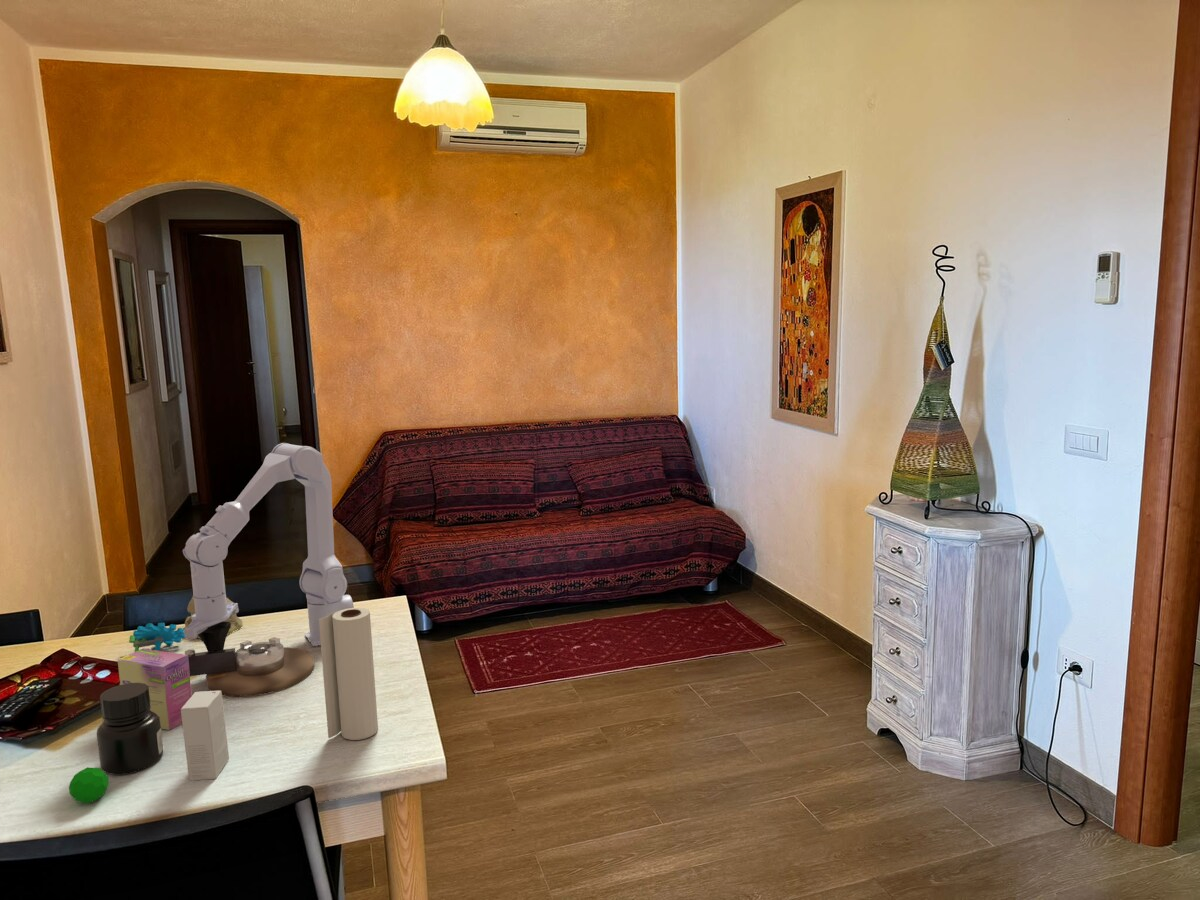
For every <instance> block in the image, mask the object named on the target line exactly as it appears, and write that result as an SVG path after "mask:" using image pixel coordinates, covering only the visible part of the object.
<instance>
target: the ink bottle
mask: <svg viewBox="0 0 1200 900" xmlns="http://www.w3.org/2000/svg"><path fill="white" fill-rule="evenodd" d="M99 701H100V708H101V709H100V711H101V716H102V717H101V718H102V720H103V721H102V723H101V724H99V726H98V728H97V729H96V739H97V741H96V743H97V748H98V756H99V764H100V769H101V770H102V771H103V772H104V773H105V774H111V775H121V776H122V775H129V774H133V773H136V772H139V771H142V770H144V769H147V768H149V767H151V766H152V765H154V764H156V763H157V762H158V761H159V760H160V759H162V757H163V755H164V742H163V732H162V729H161V725H160V719H159V716H158V715H157V714H156V713H154V712H152V711H151V710H150V708H151V705H150V696H149V687H148V685H146V684H145V683H128V684H122V685H120V684H118V685H115V686H113V687H110V688H109V689H106V690H104V691H103V692H102V693H101V694H100V696H99Z"/></svg>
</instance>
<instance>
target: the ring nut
mask: <svg viewBox="0 0 1200 900" xmlns="http://www.w3.org/2000/svg"><path fill="white" fill-rule="evenodd" d="M284 647H285V646H284V644H283V643H281V638H280V637H275V636H273V637H270V638H269V639H268V641H259V642H258V641H257V642H254V643H252V640H245V641H242V642H241V643H239V648H238V649H237V650H236V647H233V648H231V647H230V648H225V649H224V650H216V651H202V652H201V651H200V652H196V650H195V649H193V648H192V649H187V650H185V651H184V655H188V660H189V671H190V677H196V676H204V675H205V676H206V674H212V673H220V672H227V671H235V670H236V671H237V672H238V673H239V674H242V675H249V676H251V675H262V674H266V673H270V672H273V671H275V670H278V669H279V668H281V667H282V666H283V665H284V664H285V658H284Z"/></svg>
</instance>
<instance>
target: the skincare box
mask: <svg viewBox="0 0 1200 900" xmlns="http://www.w3.org/2000/svg"><path fill="white" fill-rule="evenodd" d="M191 695H192V696H191V698H190V699H189V700H188V701H187V702H186V703H185V705H184V706H183V707H182V708H181V717H182V732H183V742H184V748H185V757H186V764H187V765H186V766H187V772H188V773H187V774H188V775H187V776H188V779H189V780H188V781H204V780H217V778H218V776H219V774H220V773H221V771H222V770H223V769H224V768H225V765H226V764H227V763H228V761H229V760H230V756H229V755H230V753H229V746H228V738H227V737H228V736H227V729H226V720H225V709H224V701H223V695H222V692H221V691H210V690H208V691H207V690H204V691H194V693H192V694H191Z"/></svg>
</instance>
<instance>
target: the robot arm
mask: <svg viewBox="0 0 1200 900" xmlns="http://www.w3.org/2000/svg"><path fill="white" fill-rule="evenodd" d="M331 476H332V475H331V473H330V471H329V469H328V467H327V465H326V464H325V462H324V455H323V454H322V453H321V452H320V451H318V450H317V449H316V448H314V447H313V446H308V445H299V444H298V445H297V444H290V443H287V442H282V443H279V444H277V445H275V446H274V447H273V449H272V450H271V452H270V453H268V454H267V455H266V456H265V458H264V460H263V463H262V465H261V466H260V468H259V469H258V470H257V471H256V473H255V474H254V475H253V477H252V478H251V479H250V480H249V482H248V483H247V485H246V486H245V487H244V489H242V491H241V492H240V494H239V495H238V496H237V498H236V499H235V500H234V501H229V502H227V501H226V502H225V503H223V505H218V507H216V508H215V512H216V513H215V514H214V515H213V516H212V517H211V518H210V520H209V521H208V522H207V523H206V524H205V525H204V526H201V527H200V528H199V531H200V532H197V533H196V534H195V533H193V534H192V535H191V536H190V537H189V538H188V539H187V540H186V542H185V546H184V548H183V549H182V553H183V554H182V555H183V556H184V558H185V559H187V560H188V561H189V562H190V563H189V564H190V565H189V566H190V573H191V575H190V576H191V584H192V592H193V593H192V594H193V595H192V597H193V596H194V605H195V614H194V615H192V616H191V615H190V616H191V619H192V620H193V621H192V622H191V623H190V624H189V626H188V627H185V628H183V629H184V634H185V638H184V639H190V640H191V639H192V640H195V639H197V635H198V636H199V637H200V638H201V639H200V638H199V639H200V640H201V641H202V642H203V644H204V646H205V648H206V650H207V651H206V652H208V651H216V650H224V648H225V644H226V640H227V637H228V636H227V634H228V631H229V629H230V627H231V623H230V622H224V621H225V620H227V619H228V618H229V616H230V615H231V614H236V615H237V614H238V613H239V611H238V609H239V605H238V604H239V603H237V602H233V603H228V604H227V602H226V598H227V593H226V583H225V575H224V563H223V561H224V560H225V559H226V557H227V556H228V551H229V550H228V548H229V546H230V544H231V543H232V541H233V540H234V539H235V538H236V537H237V535H238V534H239V533H240V532H241V531H242V529H244V527H245V526H247V524H248V522H249V521H250V511H251V510H252V509H253V508H254V507H255V506H256V505H257V504H258V503H259V502H260V501H261V500H262V499H263V497H264V496H265V495H267V493H268V492H269V491H270V490H271V489H272V488H273V487H274V486H275V485H276V484H278V483H281V482H286V481H291V480H296V481H297V482H299V483H300V484H302V485H303V486H304V495H305V516H306V517H305V519H306V533H307V534H306V537H307V538H306V539H307V541H306V542H307V558H306V559H305V560H303V563H302V572H301V574H300V577H299V582H298V583H299V587H300V589H301V591H302V592H303V593H304V594H305V597H306V602H307V603H306V604H307V613H308V614H307V615H308V628H309V632H306V633H305V635H304V636H305V637H307V638H308V639H307V638H306V639H307V640H308V641H309V643H310V642H311V643H310V644H311V645H312V647H319V646H321V640H320V628H319V619H321V618H324V617H326V616H328V615H330V614H332V613H334V612H337V611H340V610H344V609H349V608H355V607H354V603H353V602H354V601H353V599H352V596H351V595H350V594H345V593H346V592H347V589H348V581H347V578H346V577H345V575H344V570H343V565H342V564H341V562H340V561H339V559H338V558H337V557H336V555H335V536H334V533H335V532H334V516H333V514H334V513H333V512H334V511H333V489H332V488H333V487H332V485H333V484H332V477H331ZM318 645H319V646H318Z"/></svg>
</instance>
